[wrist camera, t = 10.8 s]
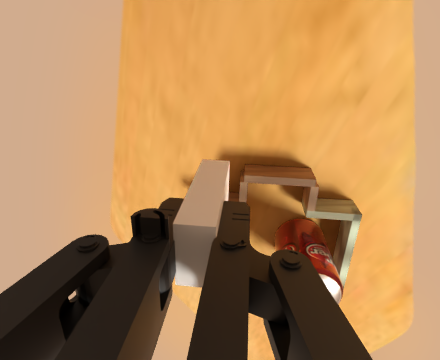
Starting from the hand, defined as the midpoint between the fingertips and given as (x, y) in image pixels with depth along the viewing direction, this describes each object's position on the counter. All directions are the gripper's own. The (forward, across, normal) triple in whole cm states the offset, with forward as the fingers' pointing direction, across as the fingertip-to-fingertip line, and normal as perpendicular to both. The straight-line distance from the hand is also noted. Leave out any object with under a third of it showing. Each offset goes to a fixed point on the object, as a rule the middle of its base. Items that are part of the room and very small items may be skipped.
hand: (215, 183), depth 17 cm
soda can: (+25, +10, -19) cm, 33 cm away
